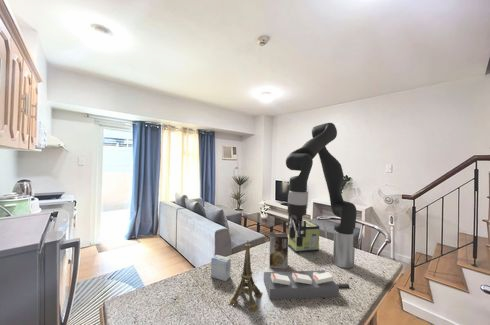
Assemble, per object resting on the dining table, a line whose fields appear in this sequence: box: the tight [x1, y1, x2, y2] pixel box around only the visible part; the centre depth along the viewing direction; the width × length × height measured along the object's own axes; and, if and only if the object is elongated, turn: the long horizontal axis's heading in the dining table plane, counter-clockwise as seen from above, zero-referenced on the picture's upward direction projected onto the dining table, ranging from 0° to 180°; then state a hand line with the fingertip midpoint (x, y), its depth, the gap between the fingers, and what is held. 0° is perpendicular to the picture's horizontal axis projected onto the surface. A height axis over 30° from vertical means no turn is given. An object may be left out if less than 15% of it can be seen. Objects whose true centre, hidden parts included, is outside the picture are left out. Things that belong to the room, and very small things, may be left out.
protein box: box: [288, 220, 320, 254], centre depth 125 cm, size 10×16×16 cm
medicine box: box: [210, 254, 232, 282], centre depth 92 cm, size 8×4×9 cm, turn 65°
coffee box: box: [268, 231, 289, 270], centre depth 104 cm, size 9×6×16 cm
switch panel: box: [263, 270, 350, 300], centre depth 86 cm, size 36×12×5 cm, turn 96°
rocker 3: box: [313, 271, 334, 284], centre depth 84 cm, size 7×4×2 cm, turn 96°
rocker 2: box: [292, 273, 312, 284], centre depth 83 cm, size 7×4×2 cm, turn 96°
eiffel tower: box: [228, 241, 263, 313], centre depth 78 cm, size 11×11×25 cm
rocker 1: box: [271, 273, 290, 285], centre depth 82 cm, size 7×4×2 cm, turn 96°
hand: (295, 241), depth 83 cm, fingers open, 8 cm apart
